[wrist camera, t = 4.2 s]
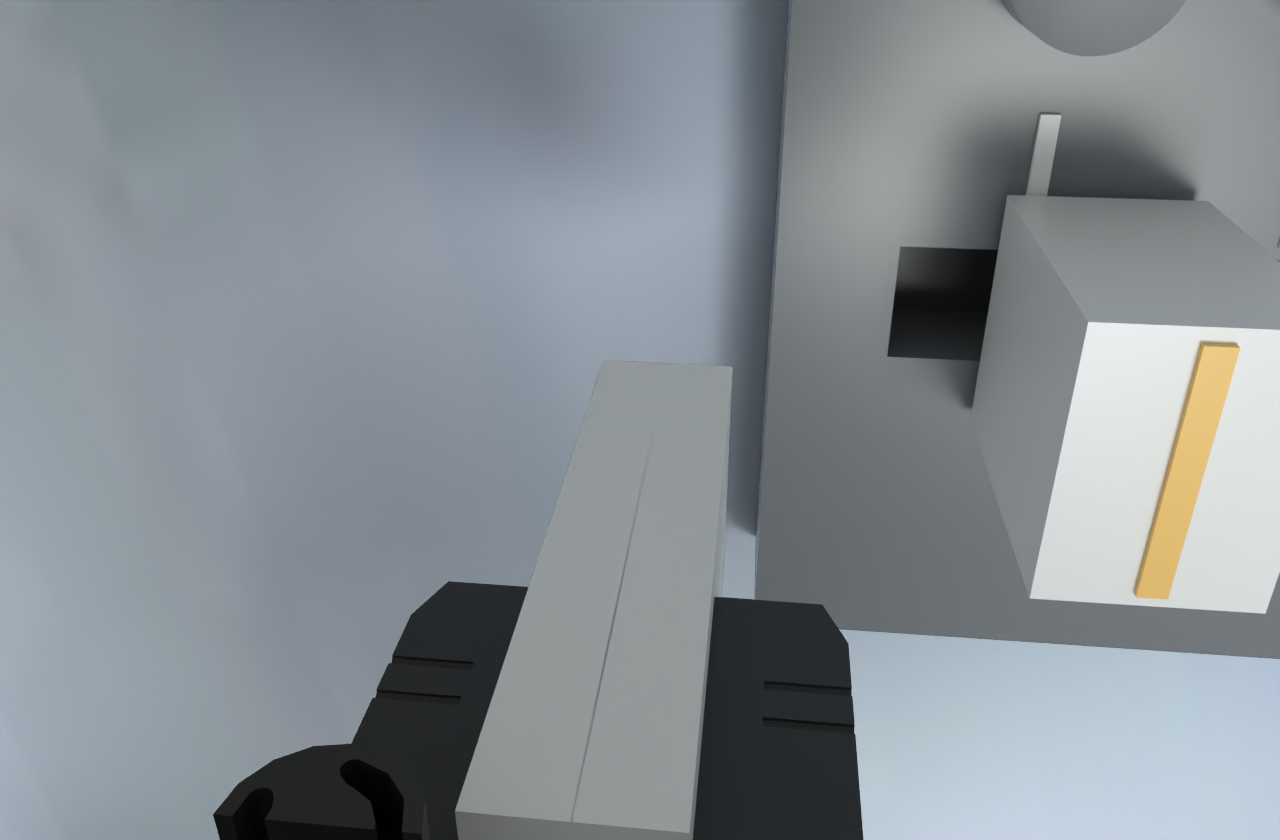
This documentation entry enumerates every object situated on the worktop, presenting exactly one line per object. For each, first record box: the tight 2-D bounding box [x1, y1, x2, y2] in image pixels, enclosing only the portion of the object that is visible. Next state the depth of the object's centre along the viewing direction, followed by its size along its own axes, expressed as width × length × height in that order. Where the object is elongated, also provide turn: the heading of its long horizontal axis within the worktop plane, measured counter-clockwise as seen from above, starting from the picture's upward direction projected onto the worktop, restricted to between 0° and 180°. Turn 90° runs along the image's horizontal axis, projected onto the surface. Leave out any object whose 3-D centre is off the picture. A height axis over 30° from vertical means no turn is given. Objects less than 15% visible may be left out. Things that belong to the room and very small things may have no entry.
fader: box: [970, 195, 1280, 614], centre depth 17 cm, size 3×4×7 cm
